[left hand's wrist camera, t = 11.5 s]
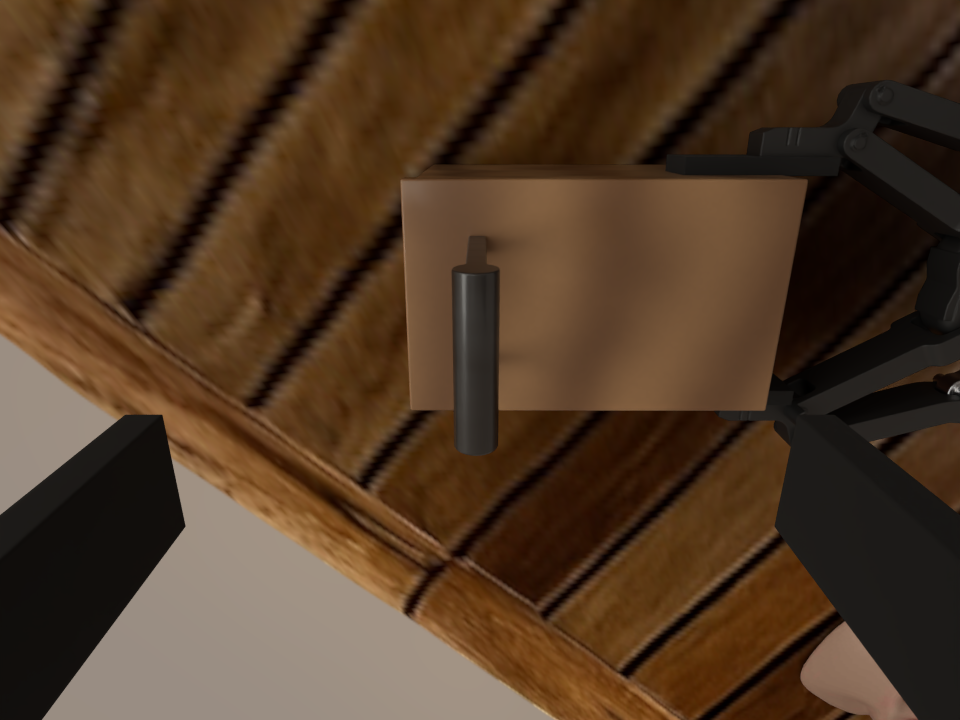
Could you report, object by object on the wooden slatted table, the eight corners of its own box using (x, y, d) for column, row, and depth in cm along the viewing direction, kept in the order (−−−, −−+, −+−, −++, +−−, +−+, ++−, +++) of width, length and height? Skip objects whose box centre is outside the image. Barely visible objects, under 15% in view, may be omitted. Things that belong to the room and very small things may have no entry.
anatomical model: (810, 750, 43) (874, 628, 39) (784, 701, 47) (840, 585, 43) (982, 772, 44) (1062, 655, 40) (943, 722, 48) (1013, 610, 44)
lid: (412, 403, 28) (385, 510, 20) (402, 177, 24) (365, 199, 16) (758, 403, 28) (866, 510, 20) (799, 177, 24) (950, 200, 16)
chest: (437, 336, 37) (424, 402, 28) (433, 164, 33) (415, 177, 24) (690, 336, 37) (757, 402, 28) (713, 164, 33) (798, 177, 24)
